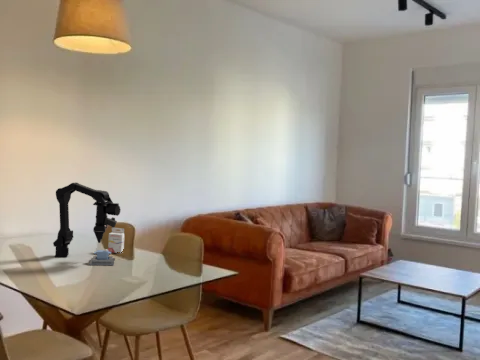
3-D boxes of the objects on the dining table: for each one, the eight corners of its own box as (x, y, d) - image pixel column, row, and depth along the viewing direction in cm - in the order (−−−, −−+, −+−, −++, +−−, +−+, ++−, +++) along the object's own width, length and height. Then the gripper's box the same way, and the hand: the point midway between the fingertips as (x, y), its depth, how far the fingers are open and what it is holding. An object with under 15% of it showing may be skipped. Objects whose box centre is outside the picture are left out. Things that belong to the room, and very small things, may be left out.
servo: (93, 261, 279) (94, 250, 279) (94, 259, 283) (94, 248, 282) (110, 261, 281) (110, 250, 280) (110, 259, 285) (111, 248, 284)
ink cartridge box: (107, 252, 306) (108, 228, 305) (110, 250, 311) (111, 227, 310) (121, 253, 306) (122, 229, 304) (124, 251, 310) (124, 228, 309)
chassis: (89, 265, 274) (89, 260, 274) (91, 259, 287) (91, 255, 287) (113, 265, 277) (113, 261, 277) (114, 259, 289) (115, 255, 289)
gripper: (115, 217, 274) (113, 245, 276) (117, 211, 293) (115, 238, 294) (94, 216, 272) (92, 244, 274) (97, 210, 291) (96, 237, 292)
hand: (100, 241), depth 283 cm, fingers open, 9 cm apart
